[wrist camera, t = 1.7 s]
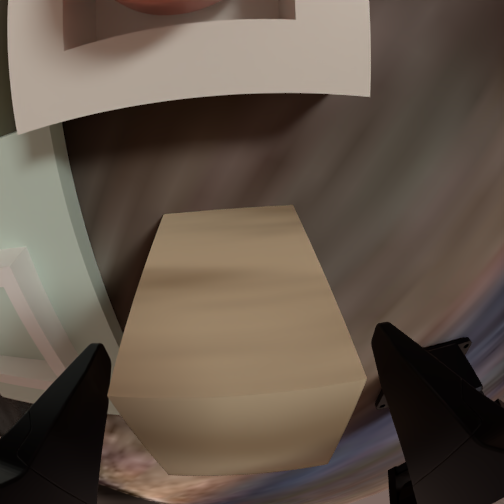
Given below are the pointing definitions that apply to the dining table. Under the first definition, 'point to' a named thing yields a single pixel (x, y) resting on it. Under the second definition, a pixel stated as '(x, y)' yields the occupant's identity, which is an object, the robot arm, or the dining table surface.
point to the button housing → (179, 54)
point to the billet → (235, 348)
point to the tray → (46, 269)
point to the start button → (166, 6)
